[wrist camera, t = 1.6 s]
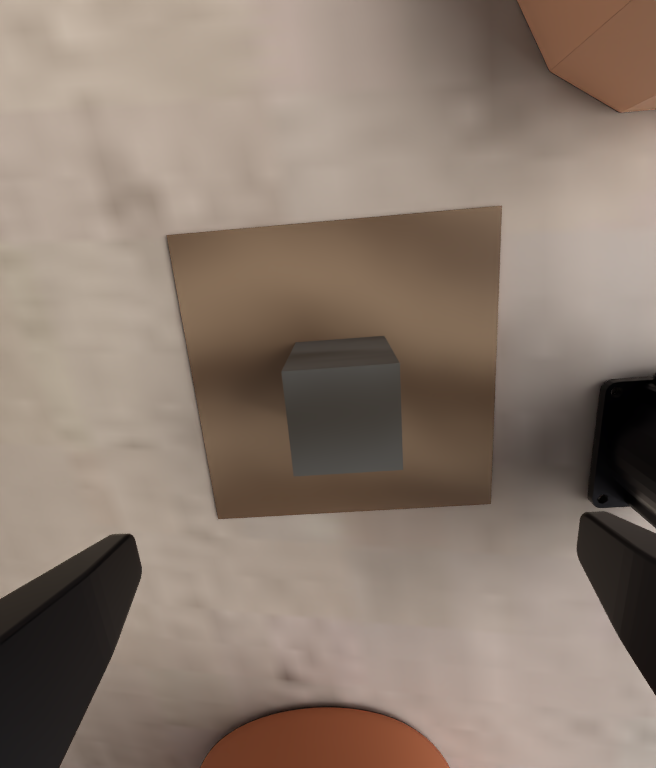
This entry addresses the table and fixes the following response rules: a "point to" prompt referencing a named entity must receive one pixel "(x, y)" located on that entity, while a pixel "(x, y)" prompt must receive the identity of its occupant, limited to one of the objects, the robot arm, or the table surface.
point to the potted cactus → (325, 742)
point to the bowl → (599, 47)
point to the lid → (344, 360)
